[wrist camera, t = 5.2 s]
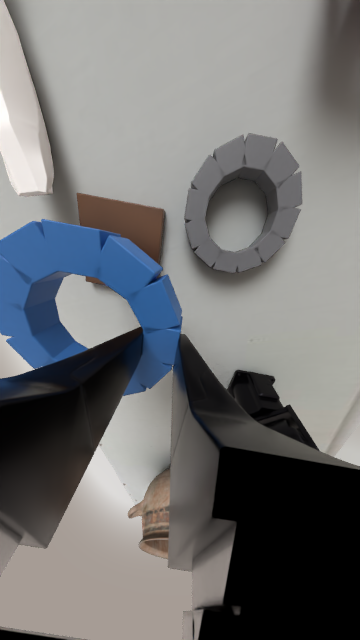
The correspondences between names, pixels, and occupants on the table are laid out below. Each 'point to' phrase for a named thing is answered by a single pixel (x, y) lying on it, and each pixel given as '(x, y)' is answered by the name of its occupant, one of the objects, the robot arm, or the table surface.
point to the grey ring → (271, 176)
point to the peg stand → (124, 223)
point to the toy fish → (21, 118)
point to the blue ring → (93, 261)
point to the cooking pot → (155, 516)
